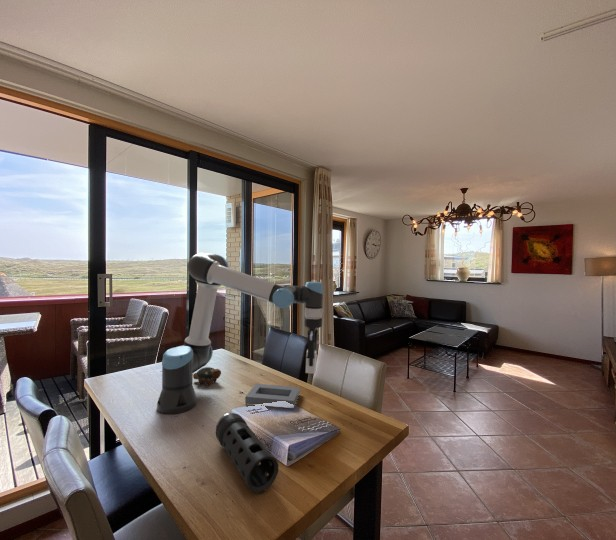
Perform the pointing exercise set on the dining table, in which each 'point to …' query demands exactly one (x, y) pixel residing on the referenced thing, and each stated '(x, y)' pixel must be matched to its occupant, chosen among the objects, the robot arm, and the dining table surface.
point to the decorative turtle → (207, 375)
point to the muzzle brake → (247, 452)
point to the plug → (307, 361)
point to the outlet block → (272, 394)
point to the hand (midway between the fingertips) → (311, 371)
